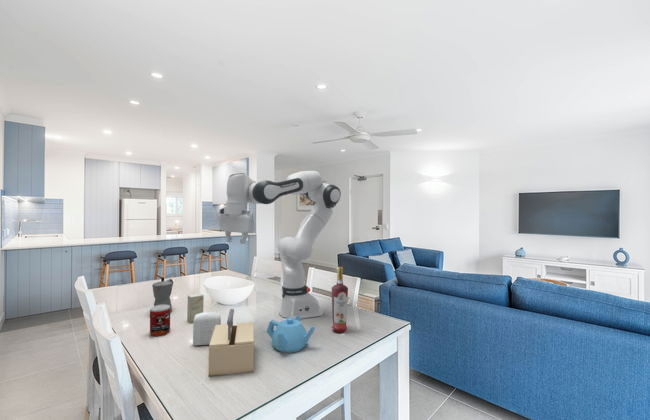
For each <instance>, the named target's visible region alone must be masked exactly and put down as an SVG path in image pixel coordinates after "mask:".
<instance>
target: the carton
mask: <svg viewBox="0 0 650 420" xmlns="http://www.w3.org/2000/svg"><path fill="white" fill-rule="evenodd" d="M254 365H255V323H254V322H253V321H252V322H251V321H250V322H248V321H247V322H237V324H233V327H232V331H231V340H230V342H229V346H219V347H209V346H208V377H217V376H225V375H233V374H241V373H250V372H251V373H252V372H255V369H254V368H255V367H254Z"/></svg>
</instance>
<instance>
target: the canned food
mask: <svg viewBox="0 0 650 420" xmlns="http://www.w3.org/2000/svg"><path fill="white" fill-rule="evenodd" d="M170 331H171V313H170V305H157V306H154V305H153V306H151V307H150V308H149V335H150V336H152V337H162V336H165V335H168V333H170Z"/></svg>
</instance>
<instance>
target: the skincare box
mask: <svg viewBox="0 0 650 420" xmlns="http://www.w3.org/2000/svg"><path fill="white" fill-rule="evenodd" d="M204 298H205V297H204V294H202V293H201V292H200V293H195V294H189V295H187V317H186V318H187V319H186V321H187V322H188V323H190V324H191V323H193V321H194V317H195V315H196V314H199V313H203V312H204Z"/></svg>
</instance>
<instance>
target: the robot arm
mask: <svg viewBox="0 0 650 420" xmlns="http://www.w3.org/2000/svg"><path fill="white" fill-rule="evenodd" d="M290 194H291V195H303V194H305V197H306V199H308V200H309V201H311V202H314V207H313V208H312V209H311V210H310V211H309V213H308V214H307V215H306V216H305V217H304V218H303V220H302V221H301V222H300V224H299V226H298V227H299V229H298V230H297V233H296V234H295V235H294V236H286V237H282V238H280V240H278V242H277V247H276V248H277V251H278V253H279V257H280V262H281V267H282V286H281V298H282V299H281V306H280V311H279V316H281V317H283V318H286V319H287V318H293V319H294V320H295V318H296V316H300V320H302V319H309V318H315V317H321V316H324V309H323V308H322V307H320V304H319V301H318V299H317V298H316V296H314V295H313V294H311V293H309V292H311V288H310V287H308V285H306V284H305V277H306V276H305V273H306V272H305V268H304V267H303V264H302V261H306V260H308V259H309V258H310V257H311V256H312V253H313V245H314V243H315V241H316V239H317V238H318V236H319V234H320V233H321V232H322V230H324V228H325V227H326V225H327V224H328V223H329V221H330V219H331V217H332V215H333V213H334V211H333V208H335V207H336V206H337V204H338V203H339V201H340V199H341V189H340V188H339V187H338V186H336V185H335V184H330V183H326V182H323V178H322V175H321V174H320V172H318V171H316V170H303V171H298V172H297V171H296V172H294V173H291V174H289V175H287V177H286V180H282V181H277V182H274V181H272V180H266V179H265V180H261V181H256V180H254V179H252V178H251V177H250V176H248V174H247V173H243V172H242V173H241V172H240V173H239V172H238V173H232V174H230V175H229V176H228V178H227V183H226V196H227V200H226V203H225V204H226V205H225V206H224V207H222V208H220V209H219V211H218V213H219V217H218V218H219V220H218V228H219V231H220V232H224V234H225V236H226V242H227V243H232V242H233V237H232V235H231V234H232V233H241V236H242V238H241V239H240V242H239V243H240V244H243V245H246V243H247V239H248V237H249V234H254V232H255V231H256V229H255V228H256V227H255V218H254V213H252V211H250V210H248V209H249V208H248V205H249V204H248V203H250V204H254V205H255V204H257V205H260V204H261V205H262V204H263V205H270V204H272V203H274V202H275V201H276V200H277V199H279V198H280V197H283V196H287V195H290Z"/></svg>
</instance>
